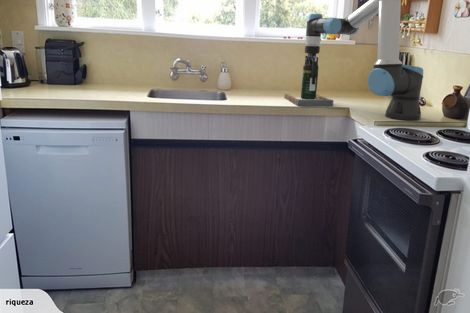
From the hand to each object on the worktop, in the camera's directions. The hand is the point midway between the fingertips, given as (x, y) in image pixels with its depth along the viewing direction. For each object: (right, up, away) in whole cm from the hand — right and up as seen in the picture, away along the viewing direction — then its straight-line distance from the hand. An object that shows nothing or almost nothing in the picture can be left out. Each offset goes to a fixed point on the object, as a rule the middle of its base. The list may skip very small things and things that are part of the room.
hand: (309, 89), depth 224 cm
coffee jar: (0, -5, +1) cm, 5 cm away
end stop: (+1, -10, -8) cm, 13 cm away
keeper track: (-1, -6, +4) cm, 7 cm away
